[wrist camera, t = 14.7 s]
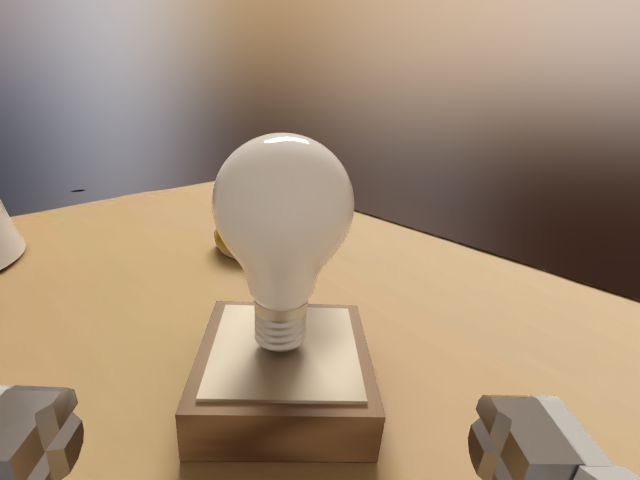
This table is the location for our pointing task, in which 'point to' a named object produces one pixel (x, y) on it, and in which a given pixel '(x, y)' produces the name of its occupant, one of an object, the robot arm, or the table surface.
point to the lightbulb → (282, 226)
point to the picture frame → (281, 392)
